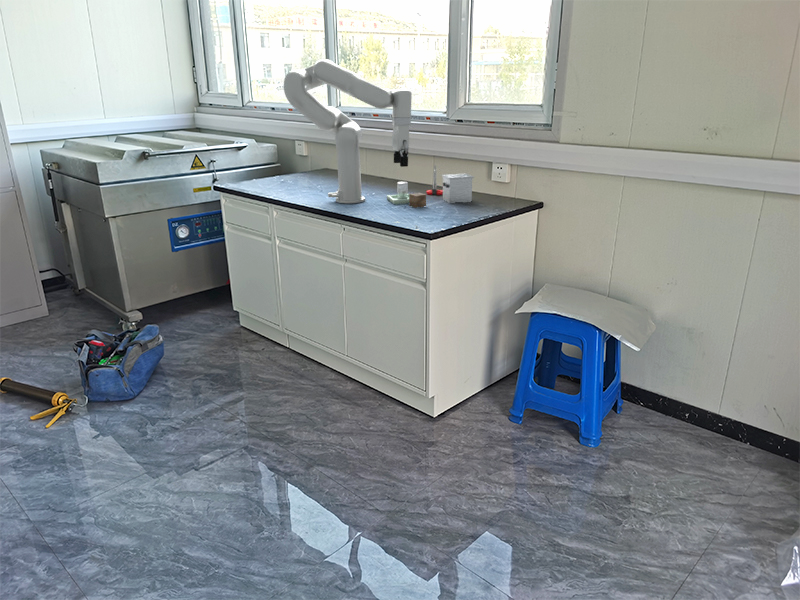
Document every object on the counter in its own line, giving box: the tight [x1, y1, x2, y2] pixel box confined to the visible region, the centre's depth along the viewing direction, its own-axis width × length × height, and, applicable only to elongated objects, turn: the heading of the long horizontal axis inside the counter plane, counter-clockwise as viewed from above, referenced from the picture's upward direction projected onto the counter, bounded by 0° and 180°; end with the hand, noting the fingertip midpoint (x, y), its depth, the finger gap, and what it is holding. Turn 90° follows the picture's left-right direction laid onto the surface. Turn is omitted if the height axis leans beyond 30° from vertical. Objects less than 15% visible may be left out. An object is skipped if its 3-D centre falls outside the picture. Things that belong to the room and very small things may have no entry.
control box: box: [441, 172, 474, 204], centre depth 245 cm, size 11×9×11 cm
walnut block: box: [408, 192, 427, 209], centre depth 237 cm, size 5×5×5 cm
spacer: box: [396, 181, 409, 200], centre depth 246 cm, size 4×4×7 cm
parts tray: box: [386, 193, 410, 205], centre depth 247 cm, size 11×11×2 cm
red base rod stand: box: [425, 165, 443, 196], centre depth 261 cm, size 8×13×9 cm
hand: (400, 164), depth 242 cm, fingers open, 9 cm apart
